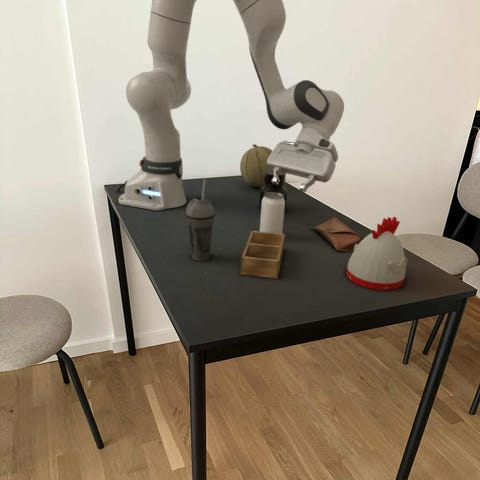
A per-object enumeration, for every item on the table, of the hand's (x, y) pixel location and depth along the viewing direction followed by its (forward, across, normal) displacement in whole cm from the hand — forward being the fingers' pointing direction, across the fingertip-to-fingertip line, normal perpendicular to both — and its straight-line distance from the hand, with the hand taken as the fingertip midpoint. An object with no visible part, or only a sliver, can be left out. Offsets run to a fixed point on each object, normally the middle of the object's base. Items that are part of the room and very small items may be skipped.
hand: (288, 186), depth 130 cm
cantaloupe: (-12, -32, +31) cm, 46 cm away
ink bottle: (0, -13, +19) cm, 23 cm away
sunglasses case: (+6, +15, +13) cm, 21 cm away
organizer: (+25, +8, -6) cm, 27 cm away
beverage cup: (+31, -5, -13) cm, 34 cm away
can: (+14, 0, +4) cm, 15 cm away
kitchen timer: (+16, +34, +2) cm, 38 cm away
